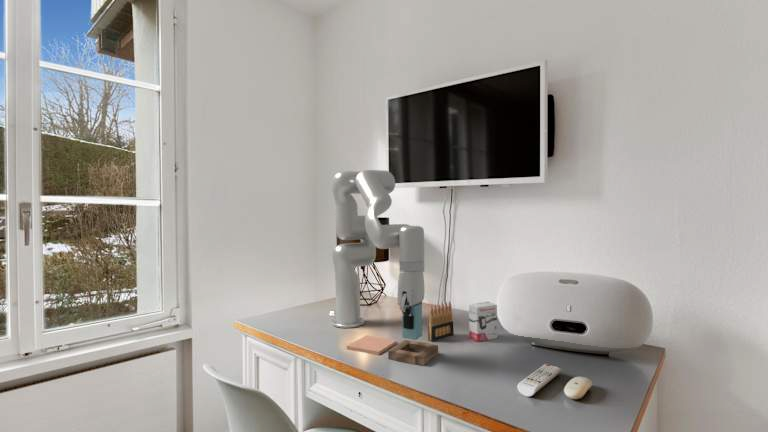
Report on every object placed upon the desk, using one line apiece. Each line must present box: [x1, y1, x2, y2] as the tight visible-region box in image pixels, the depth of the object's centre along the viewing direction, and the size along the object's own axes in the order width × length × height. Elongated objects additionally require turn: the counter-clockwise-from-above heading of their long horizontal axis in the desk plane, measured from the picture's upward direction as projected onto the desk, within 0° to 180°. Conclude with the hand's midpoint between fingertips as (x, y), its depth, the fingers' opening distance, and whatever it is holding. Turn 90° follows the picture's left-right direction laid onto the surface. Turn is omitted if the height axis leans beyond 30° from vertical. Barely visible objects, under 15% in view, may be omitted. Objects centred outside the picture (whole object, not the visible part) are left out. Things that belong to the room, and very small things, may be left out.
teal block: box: [401, 302, 423, 341], centre depth 121 cm, size 4×4×10 cm
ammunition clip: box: [427, 301, 455, 342], centre depth 138 cm, size 11×2×12 cm, turn 127°
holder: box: [387, 339, 439, 367], centre depth 121 cm, size 12×12×2 cm
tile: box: [346, 335, 398, 356], centre depth 131 cm, size 12×12×1 cm
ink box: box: [468, 301, 498, 343], centre depth 137 cm, size 8×5×12 cm, turn 115°
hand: (412, 325), depth 121 cm, fingers closed on teal block, 4 cm apart
